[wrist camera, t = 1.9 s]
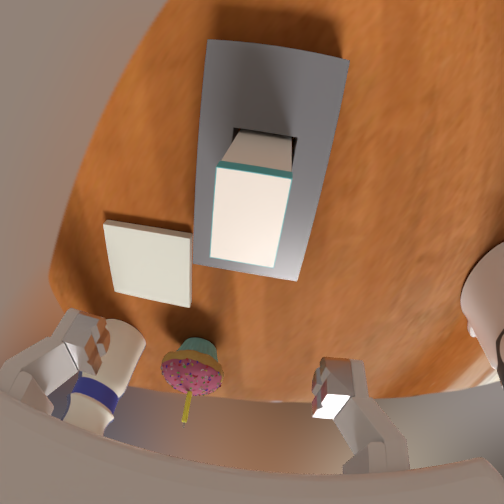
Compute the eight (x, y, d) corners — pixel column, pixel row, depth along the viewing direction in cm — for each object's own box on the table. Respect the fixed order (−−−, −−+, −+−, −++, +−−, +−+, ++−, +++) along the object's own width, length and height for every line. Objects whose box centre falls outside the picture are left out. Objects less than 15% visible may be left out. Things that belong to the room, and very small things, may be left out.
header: (342, 59, 21) (349, 60, 19) (297, 259, 33) (296, 281, 30) (218, 40, 22) (207, 39, 19) (201, 242, 33) (192, 263, 31)
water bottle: (137, 360, 49) (87, 496, 28) (93, 333, 46) (30, 467, 26) (158, 341, 45) (102, 499, 24) (108, 309, 42) (33, 465, 22)
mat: (192, 233, 33) (189, 238, 32) (191, 302, 39) (189, 307, 38) (107, 219, 33) (103, 224, 32) (117, 286, 39) (114, 291, 38)
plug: (292, 130, 26) (292, 178, 17) (280, 193, 29) (273, 268, 20) (244, 122, 26) (216, 166, 17) (236, 186, 29) (209, 257, 20)
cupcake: (233, 365, 46) (219, 438, 36) (179, 362, 47) (159, 429, 37) (222, 328, 41) (203, 409, 31) (162, 325, 42) (134, 399, 32)
